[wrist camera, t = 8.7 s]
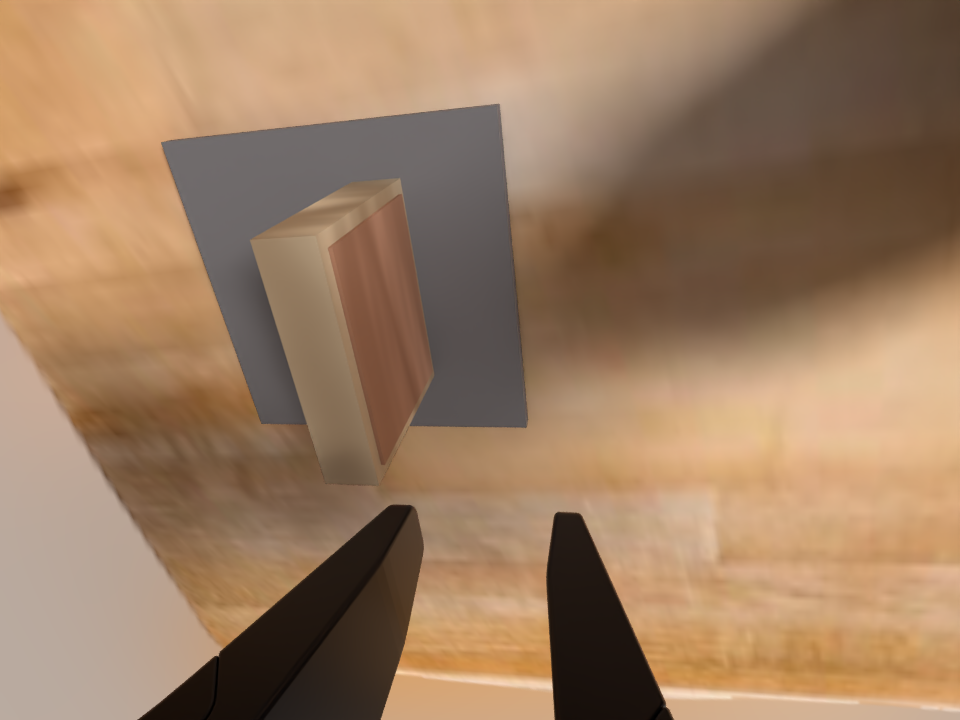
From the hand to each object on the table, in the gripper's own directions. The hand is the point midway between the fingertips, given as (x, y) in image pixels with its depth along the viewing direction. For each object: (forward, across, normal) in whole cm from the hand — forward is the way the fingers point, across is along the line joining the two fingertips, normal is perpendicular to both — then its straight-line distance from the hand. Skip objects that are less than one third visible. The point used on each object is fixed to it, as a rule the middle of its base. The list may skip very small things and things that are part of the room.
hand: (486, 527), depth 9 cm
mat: (+11, +6, 0) cm, 13 cm away
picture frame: (+10, +5, 0) cm, 12 cm away
